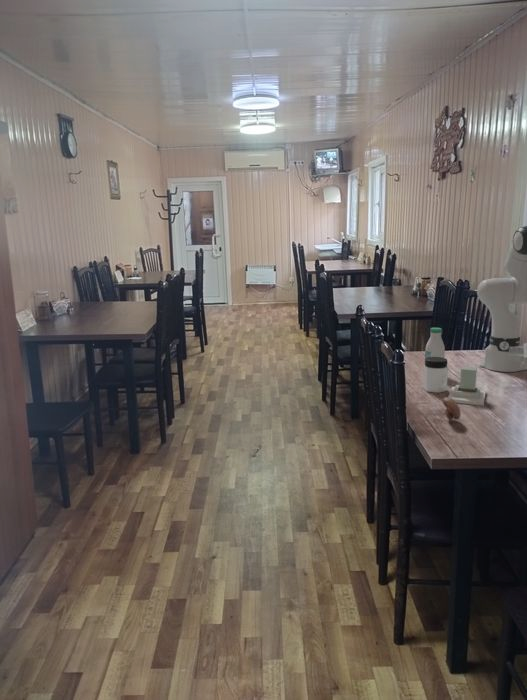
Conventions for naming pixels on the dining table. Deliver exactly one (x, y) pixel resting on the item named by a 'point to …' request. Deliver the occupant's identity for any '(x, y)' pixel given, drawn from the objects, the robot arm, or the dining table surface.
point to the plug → (468, 378)
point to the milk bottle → (435, 344)
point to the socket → (468, 396)
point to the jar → (435, 374)
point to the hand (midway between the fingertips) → (508, 352)
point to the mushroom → (451, 408)
